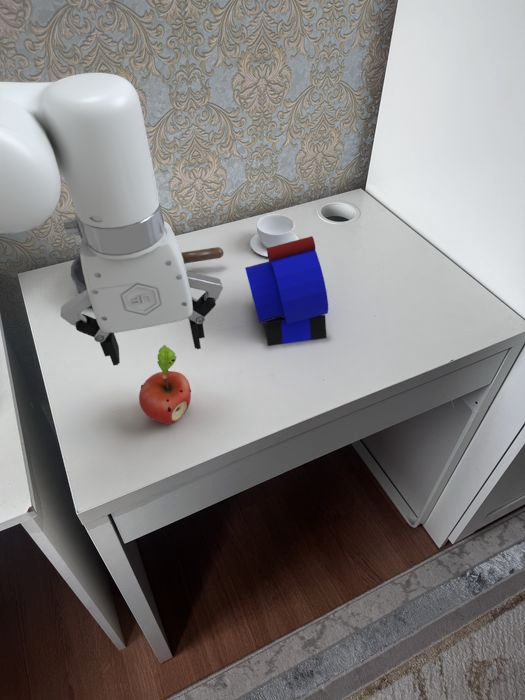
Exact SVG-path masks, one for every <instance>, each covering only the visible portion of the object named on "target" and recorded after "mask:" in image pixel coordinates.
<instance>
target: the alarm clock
mask: <svg viewBox="0 0 525 700" xmlns="http://www.w3.org/2000/svg"><path fill="white" fill-rule="evenodd" d="M315 242H316V241H315V239H314V237H313V235H311V236H307V237H303V238H299V240H296V241H292V242H288V243H284V244H280V245H277V246H273V247H269V248H267V254H268V257H267V260H268V261H265V262H261V263H257V264H254V265H251V266H246V267H244V269H245V274H246V277H247V281H248V285H249V289H250V291H251V296H252V300H253V304H254V307H255V308H254V309H255V311H256V315H257V318H258V322H259V323H263V327H264V332H265V337H266V338H265V339H266V342H267V343H266V344H267V347H269V346H270V347H271V346H276V345H284V344H285V345H286V344H292V343H299V342H306V341H315V340H320V339H327V323H326V322H327V321H326V315H327V314H329V300H328V293H327V292H328V291H327V287H326V282H325V278H324V274H323V270H322V265H321V263H320V259H319V256H318V254H317V250H316V243H315ZM278 318H283V319H281V320H274V319H278ZM271 320H274V321H271Z"/></svg>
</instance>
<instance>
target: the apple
mask: <svg viewBox="0 0 525 700" xmlns="http://www.w3.org/2000/svg"><path fill="white" fill-rule="evenodd" d="M176 361H177V355H176V353H175V352H174V351H173V350H172V349H171V348H170V347H168V346H167V345H166V344H164V345H162V346H161V347H160V348H159V349H158V353H157V365H158V367H159V368H160V370H161V371H158V372H156V373H154V374H152V375H150V376H149V377H148V378H147V379H145V381H144V383H142V384H141V385H140V390H139V394H138V403H139V405H140V408H141V410H142V412H143V413H144V414H145V415H146V416H147V417H148V418H150V419H151V420H153V421H155V422H157V423H160V424H167V425H173V424H175V423H177V422H179V421H180V420H181V419H182V417H183V416H184V415H185V413H186V412H187V410H188V408H189V406H190V403H191V400H192V399H191V398H192V397H191V396H192V395H191V394H192V390H191V385H190V382H189V380H188V378H187V376H186V375H184V374H183V373H181V372H179V371H170V370H169V369H171V367H172V366H174V364H175V362H176Z"/></svg>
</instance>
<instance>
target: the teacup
mask: <svg viewBox="0 0 525 700" xmlns="http://www.w3.org/2000/svg"><path fill="white" fill-rule="evenodd" d="M255 225H256V232H257V233H255V234H254V235H252V237H251V238H250V242H249V246H250V248H251V249H252V250H253V251H254V252H255V253H256V254H258V255H261V256H263V257H267V258H268V254H267V248H269V247H273V246H277V245H280V244H284V243H288V242H292V241H296V240H299V239H300V238H299V236H298V235H297V234H295V228H296V222H295V221H294V219H293V218H292V217H290V216H288V215H285V214H281V213H270V214H266V215H263V216H261V217H260V218H258V219H257V221H256V224H255Z"/></svg>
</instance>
